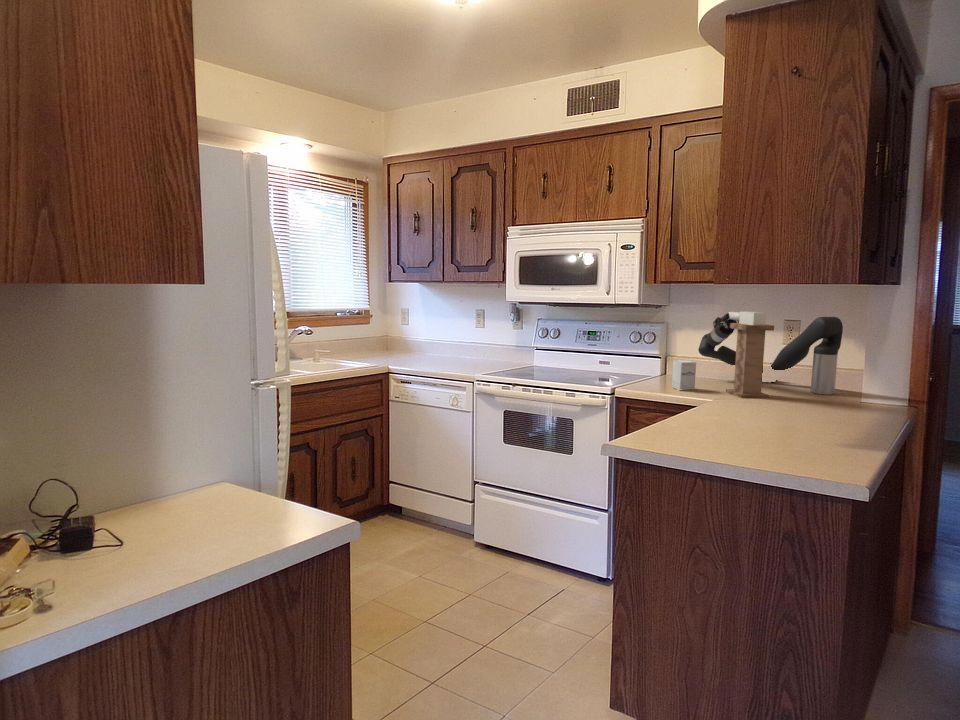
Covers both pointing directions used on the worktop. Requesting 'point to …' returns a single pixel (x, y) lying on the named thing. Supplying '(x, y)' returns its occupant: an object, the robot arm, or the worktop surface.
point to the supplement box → (684, 374)
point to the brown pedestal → (749, 360)
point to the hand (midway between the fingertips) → (737, 315)
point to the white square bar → (748, 317)
